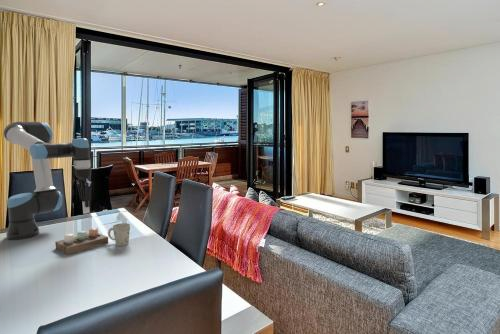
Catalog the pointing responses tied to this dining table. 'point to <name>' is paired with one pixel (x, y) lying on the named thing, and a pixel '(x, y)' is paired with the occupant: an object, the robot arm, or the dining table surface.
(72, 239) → the button cream
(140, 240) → the dining table surface
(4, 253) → the dining table surface
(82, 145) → the robot arm
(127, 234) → the mug
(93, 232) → the button terracotta
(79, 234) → the button sage
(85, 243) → the button panel
